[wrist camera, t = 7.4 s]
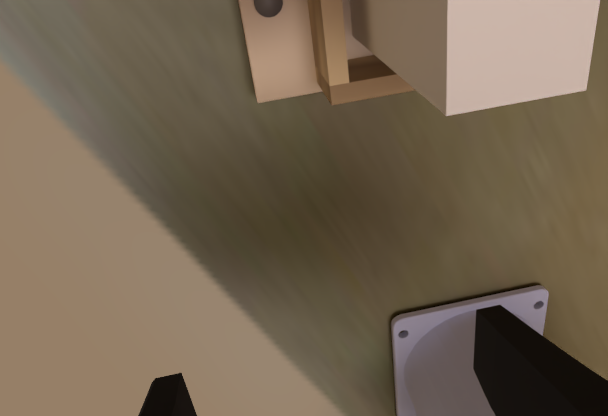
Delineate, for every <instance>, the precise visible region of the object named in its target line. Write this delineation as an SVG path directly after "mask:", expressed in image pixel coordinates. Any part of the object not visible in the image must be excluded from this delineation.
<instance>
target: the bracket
mask: <svg viewBox="0 0 608 416" xmlns="http://www.w3.org/2000/svg"><path fill="white" fill-rule="evenodd" d="M238 3H239V8H240V14H241V19H242V25H243V30H244V35H245V41H246V46H247V52H248V57H249V63H250V68H251V73H252V79H253V84H254V90H255V95H256V98H257V102H258V103H261V102H267V101H272V100H278V99H283V98H289V97H294V96H300V95H306V94H311V93H317V92H322V91H323V92H324V94H325V95H326V97H327V99H328V100H329V102H330V103H331V105H337V104H342V103H348V102H353V101H359V100H364V99H370V98H375V97H381V96H386V95H392V94H397V93H403V92H408V91H414V90H415V89H414V88H413V87H412V86H410V85H409V84H408V83H407V82H406V81H405V80H403V79H402V78H401V77H400V76H399V75H397V74H396V73H395V72H394V71H393V70H392V69H390V68H389V67H388V66H387V65H386V64H385V63H383V62H382V61H381V60H380V59H379V58H378V57H376V56H375V55H374V54H373V53H372V52H370V51H369V50H368V49H367V48H366V47H365V46H363V45H362V44H361V43H360V42H359V41H358V40H356V39H355V38H354V37H353V36H352V26H351V13H350V1H349V0H238Z"/></svg>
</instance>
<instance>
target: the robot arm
mask: <svg viewBox="0 0 608 416" xmlns="http://www.w3.org/2000/svg"><path fill="white" fill-rule="evenodd" d="M548 296H549V293H548V291H547V290H546V289H545V288H544V287H543V286H541V285H537V286H532V287H527V288H522V289H518V290H513V291H508V292H504V293H499V294H494V295H489V296H485V297H480V298H475V299H471V300H466V301H461V302H457V303H452V304H447V305H442V306H438V307H433V308H428V309H424V310H419V311H414V312H409V313H405V314H400V315H397V316H396V317H394V318H393V320H392V322H391V332H392V349H393V365H394V382H395V399H396V415H397V416H608V381H607V380H606V379H604V378H602V377H601V376H599V375H598V374H596V373H595V372H593V371H592V370H590V369H589V368H587V367H586V366H584V365H583V364H581V363H580V362H579V361H577V360H576V359H574V358H573V357H571V356H570V355H568V354H567V353H566V352H564V351H563V350H561V349H560V348H558V347H557V346H556V345H554V344H553V343H552V342H550V341H549V340H547V339H546V338H545V337H543V331H544V324H545V317H546V310H547V303H548ZM536 302H537V303H536ZM535 303H536V304H535ZM403 330H405V331H404V332H402V333H400V332H401V331H403ZM138 416H197V415H196V412H195V409H194V406H193V404H192V401H191V398H190V395H189V393H188V390H187V387H186V384H185V382H184V379H183V376H182V373H179V374H174V375H169V376H164V377H160V378H156V379H155V380H154V381H153V382H152V384H151V386H150V389H149V391H148V394H147V396H146V399H145V401H144V404H143V406H142V408H141V411H140V413H139V415H138Z"/></svg>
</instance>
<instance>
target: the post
mask: <svg viewBox="0 0 608 416" xmlns="http://www.w3.org/2000/svg"><path fill="white" fill-rule="evenodd" d="M349 1H350V13H351V26H352V36H353V37H354V38H355V39H356V40H358V41H359V42H360V43H361V44H362V45H363V46H365V47H366V48H367V49H368V50H369V51H370V52H372V53H373V54H374V55H375V56H376V57H378V58H379V59H380V60H381V61H382V62H383V63H385V64H386V65H387V66H388V67H389V68H390V69H392V70H393V71H394V72H395V73H396V74H397V75H399V76H400V77H401V78H402V79H403V80H405V81H406V82H407V83H408V84H409V85H410V86H412V87H413V88H414V89H415V90H416V91H417V92H419V93H420V94H421V95H422V96H423V97H424V98H426V99H427V100H428V101H429V102H430V103H432V104H433V105H434V106H435V107H436V108H437V109H439V110H440V111H441V112H442V113H443V114H444V115H446V116H449V115H455V114H460V113H466V112H471V111H476V110H482V109H487V108H493V107H498V106H504V105H509V104H514V103H520V102H525V101H531V100H536V99H541V98H547V97H552V96H558V95H563V94H569V93H574V92H579V91H585V90H586V88H587V82H588V75H589V69H590V62H591V56H592V49H593V42H594V36H595V29H596V23H597V16H598V10H599V3H600V0H349Z"/></svg>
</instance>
